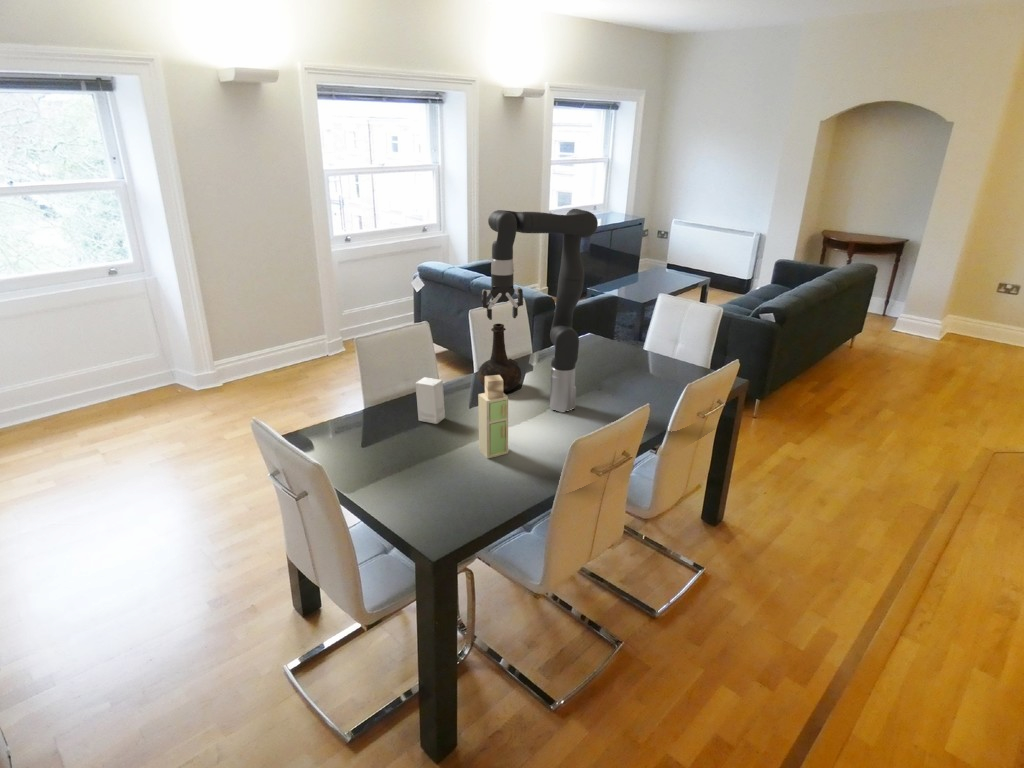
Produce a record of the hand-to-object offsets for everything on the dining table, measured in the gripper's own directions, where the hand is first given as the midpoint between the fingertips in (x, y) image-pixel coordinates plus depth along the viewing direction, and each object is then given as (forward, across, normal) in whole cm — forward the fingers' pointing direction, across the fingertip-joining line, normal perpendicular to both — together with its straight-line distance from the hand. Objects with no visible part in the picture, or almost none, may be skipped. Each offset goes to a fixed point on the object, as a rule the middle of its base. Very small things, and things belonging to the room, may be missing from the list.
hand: (502, 318), depth 216 cm
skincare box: (+40, +25, -9) cm, 48 cm away
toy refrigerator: (+40, +8, +22) cm, 47 cm away
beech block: (+19, +8, +22) cm, 30 cm away
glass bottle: (+40, -7, -33) cm, 53 cm away
